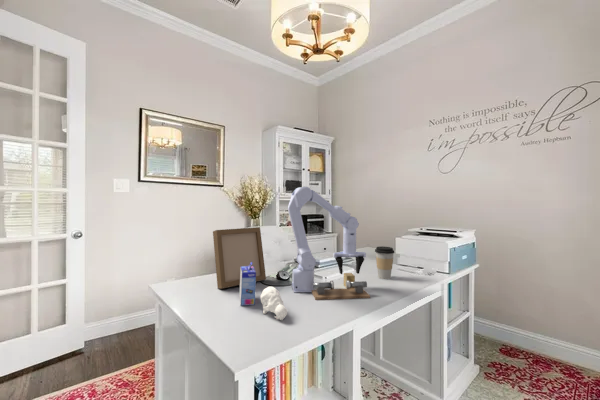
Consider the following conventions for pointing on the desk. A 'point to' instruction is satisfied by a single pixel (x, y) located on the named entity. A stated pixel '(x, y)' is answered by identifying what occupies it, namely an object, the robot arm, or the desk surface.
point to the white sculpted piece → (273, 302)
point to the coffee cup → (384, 261)
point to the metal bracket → (287, 268)
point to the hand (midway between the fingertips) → (349, 273)
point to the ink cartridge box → (247, 285)
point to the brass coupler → (348, 278)
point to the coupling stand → (339, 291)
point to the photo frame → (237, 254)
